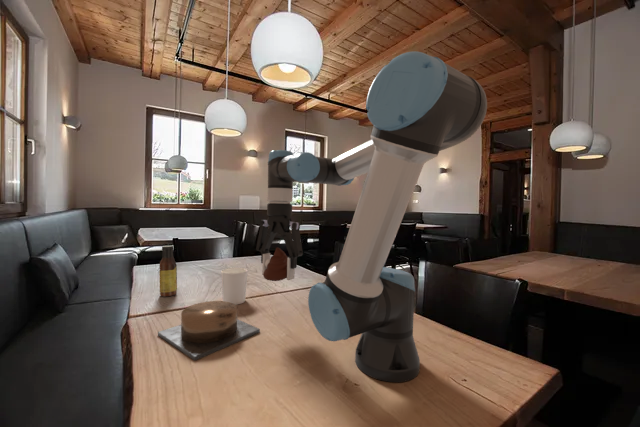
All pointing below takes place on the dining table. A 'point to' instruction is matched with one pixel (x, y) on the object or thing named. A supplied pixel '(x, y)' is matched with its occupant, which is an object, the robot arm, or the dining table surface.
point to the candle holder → (234, 285)
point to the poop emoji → (276, 266)
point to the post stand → (207, 329)
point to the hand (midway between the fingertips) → (278, 276)
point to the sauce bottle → (168, 273)
